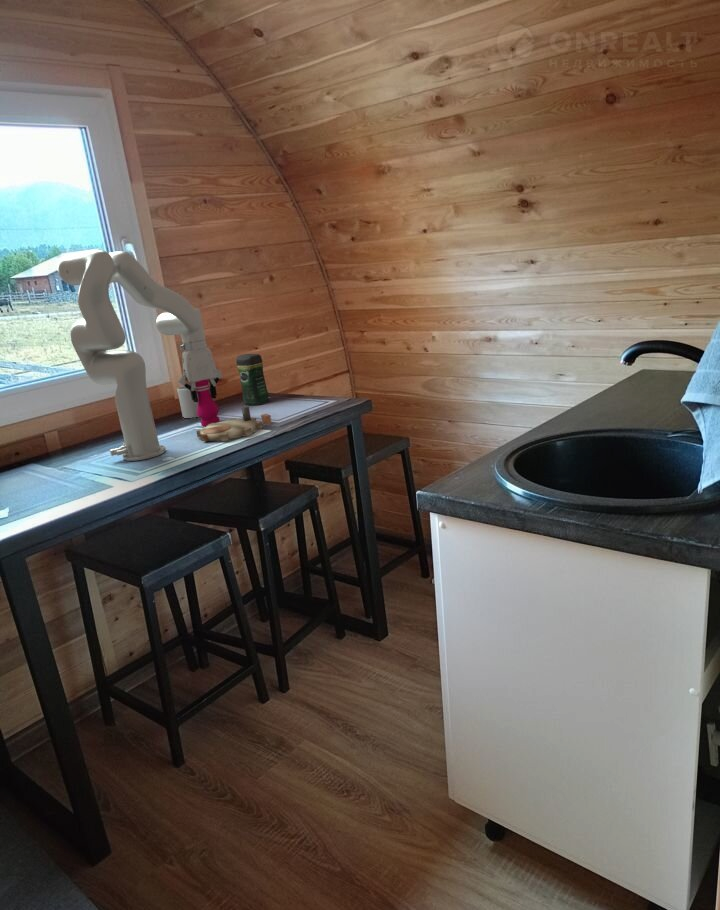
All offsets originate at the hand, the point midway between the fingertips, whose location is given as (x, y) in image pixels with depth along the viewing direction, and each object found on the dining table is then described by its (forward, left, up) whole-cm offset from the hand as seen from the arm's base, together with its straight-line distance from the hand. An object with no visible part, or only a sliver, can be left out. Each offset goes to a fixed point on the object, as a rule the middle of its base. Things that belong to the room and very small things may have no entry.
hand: (204, 399), depth 241 cm
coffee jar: (+24, +15, -9) cm, 30 cm away
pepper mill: (0, 0, -9) cm, 9 cm away
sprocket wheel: (-1, -20, -9) cm, 22 cm away
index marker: (+12, -20, -9) cm, 25 cm away
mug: (+2, +18, -9) cm, 21 cm away
